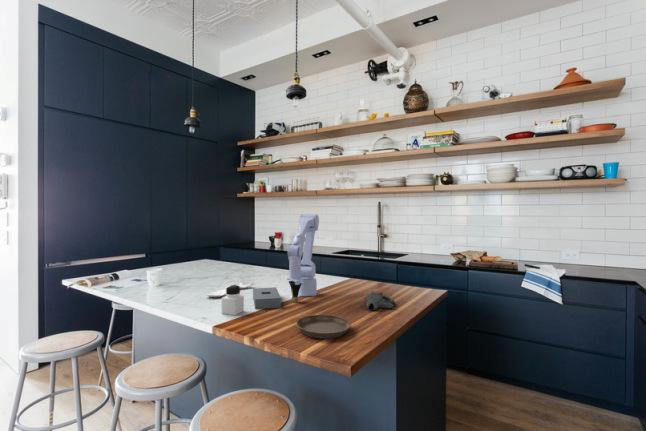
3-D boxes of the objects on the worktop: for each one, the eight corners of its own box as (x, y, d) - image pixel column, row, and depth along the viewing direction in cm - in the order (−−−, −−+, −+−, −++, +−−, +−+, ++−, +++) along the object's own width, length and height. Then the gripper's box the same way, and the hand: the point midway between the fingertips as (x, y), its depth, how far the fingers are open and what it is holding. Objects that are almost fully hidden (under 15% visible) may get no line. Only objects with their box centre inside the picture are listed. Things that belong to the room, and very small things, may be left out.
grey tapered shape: (362, 299, 157) (395, 306, 153) (369, 286, 181) (397, 292, 177) (360, 310, 157) (393, 317, 153) (368, 295, 181) (396, 301, 177)
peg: (297, 300, 172) (297, 283, 172) (298, 302, 169) (298, 284, 169) (291, 301, 172) (291, 283, 171) (292, 302, 169) (292, 284, 168)
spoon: (254, 287, 201) (254, 281, 201) (215, 300, 173) (215, 293, 173) (242, 286, 205) (242, 280, 205) (202, 298, 177) (202, 291, 177)
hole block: (275, 295, 182) (275, 287, 182) (280, 307, 161) (281, 297, 161) (252, 296, 179) (252, 288, 179) (255, 309, 158) (255, 299, 158)
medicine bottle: (244, 311, 155) (244, 284, 154) (235, 315, 148) (235, 288, 148) (230, 309, 157) (230, 283, 157) (221, 313, 150) (221, 286, 150)
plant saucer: (346, 322, 142) (347, 314, 141) (353, 341, 121) (353, 332, 121) (297, 322, 141) (297, 314, 141) (295, 341, 120) (295, 332, 120)
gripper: (285, 266, 176) (285, 292, 176) (289, 271, 162) (289, 300, 162) (298, 266, 178) (298, 292, 178) (303, 271, 164) (303, 299, 164)
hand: (294, 296), depth 170 cm, fingers closed on peg, 3 cm apart
